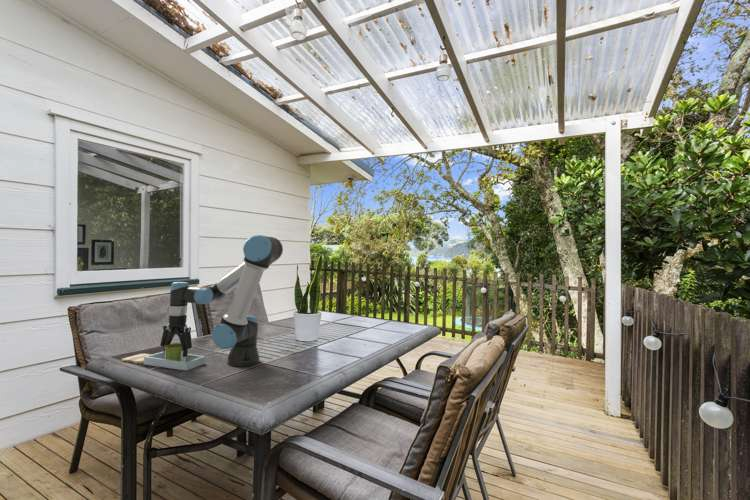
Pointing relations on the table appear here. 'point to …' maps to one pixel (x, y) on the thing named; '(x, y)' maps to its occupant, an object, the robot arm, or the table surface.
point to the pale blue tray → (159, 361)
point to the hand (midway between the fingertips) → (174, 362)
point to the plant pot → (173, 351)
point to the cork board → (136, 358)
